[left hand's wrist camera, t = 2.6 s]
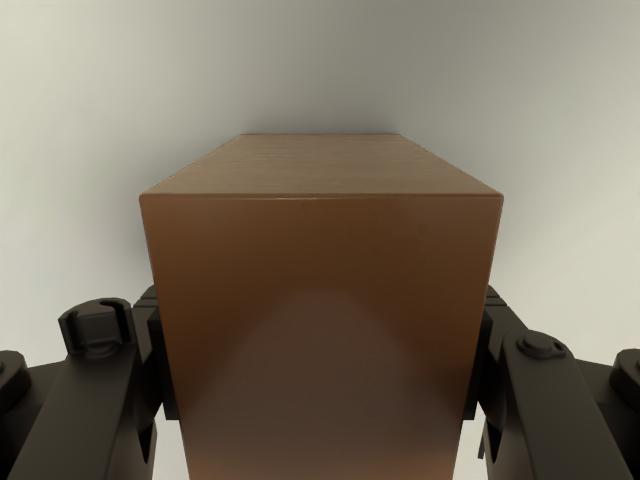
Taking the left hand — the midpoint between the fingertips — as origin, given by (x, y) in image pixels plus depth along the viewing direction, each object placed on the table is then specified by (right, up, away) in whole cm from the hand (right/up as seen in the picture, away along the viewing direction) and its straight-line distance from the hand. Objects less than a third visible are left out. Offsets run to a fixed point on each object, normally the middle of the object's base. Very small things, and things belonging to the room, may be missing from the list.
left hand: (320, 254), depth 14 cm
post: (0, -35, +14) cm, 37 cm away
